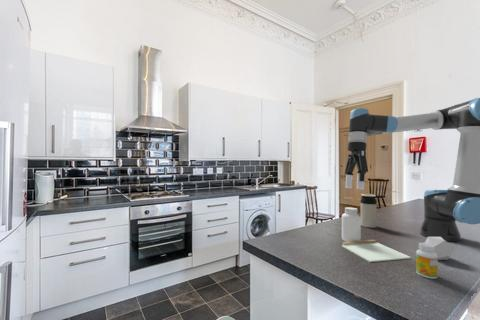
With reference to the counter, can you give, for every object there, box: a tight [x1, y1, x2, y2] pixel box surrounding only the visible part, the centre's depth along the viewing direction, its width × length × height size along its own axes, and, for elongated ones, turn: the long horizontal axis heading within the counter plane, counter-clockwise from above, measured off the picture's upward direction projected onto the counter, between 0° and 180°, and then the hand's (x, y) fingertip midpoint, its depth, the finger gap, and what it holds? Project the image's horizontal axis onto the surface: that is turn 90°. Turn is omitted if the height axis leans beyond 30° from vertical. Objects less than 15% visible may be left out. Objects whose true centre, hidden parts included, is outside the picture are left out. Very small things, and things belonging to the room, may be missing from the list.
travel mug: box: [360, 193, 378, 229], centre depth 131 cm, size 8×8×18 cm
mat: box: [341, 242, 412, 263], centre depth 92 cm, size 16×18×1 cm
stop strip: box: [341, 239, 377, 246], centre depth 101 cm, size 1×16×2 cm, turn 102°
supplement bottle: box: [415, 242, 439, 280], centre depth 74 cm, size 5×5×10 cm
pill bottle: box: [341, 206, 362, 242], centre depth 106 cm, size 8×8×15 cm
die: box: [424, 237, 455, 261], centre depth 87 cm, size 8×9×10 cm
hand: (354, 188), depth 103 cm, fingers open, 13 cm apart
